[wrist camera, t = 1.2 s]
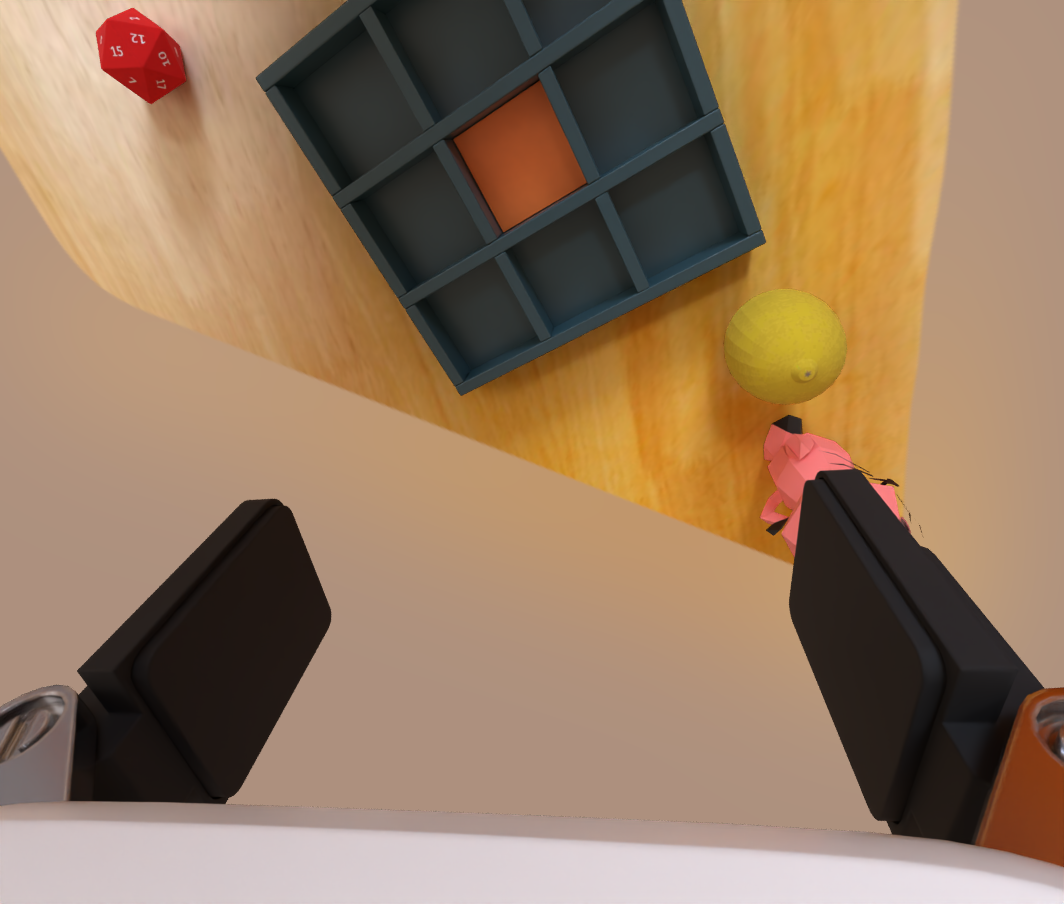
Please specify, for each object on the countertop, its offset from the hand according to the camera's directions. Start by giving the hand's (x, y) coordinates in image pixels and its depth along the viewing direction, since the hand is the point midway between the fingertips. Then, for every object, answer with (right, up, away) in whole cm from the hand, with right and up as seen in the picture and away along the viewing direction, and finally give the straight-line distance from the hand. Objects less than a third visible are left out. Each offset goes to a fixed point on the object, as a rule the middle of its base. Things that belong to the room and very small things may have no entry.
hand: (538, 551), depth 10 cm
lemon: (+13, +9, +22) cm, 27 cm away
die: (-19, +22, +19) cm, 35 cm away
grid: (-1, +17, +19) cm, 26 cm away
